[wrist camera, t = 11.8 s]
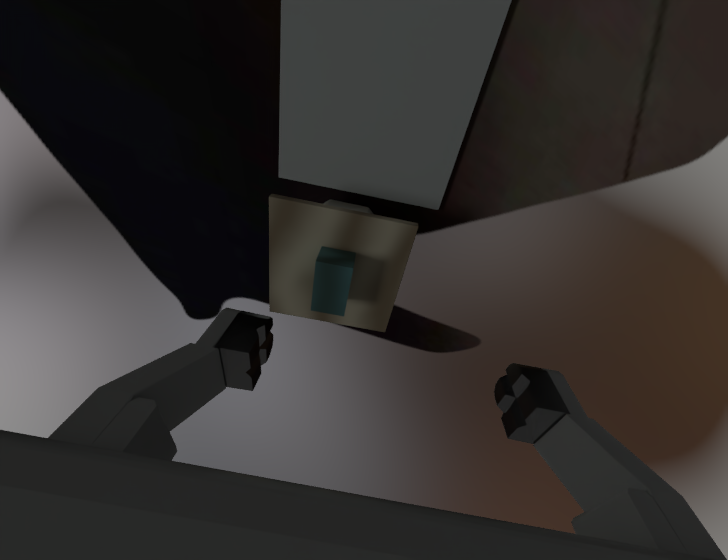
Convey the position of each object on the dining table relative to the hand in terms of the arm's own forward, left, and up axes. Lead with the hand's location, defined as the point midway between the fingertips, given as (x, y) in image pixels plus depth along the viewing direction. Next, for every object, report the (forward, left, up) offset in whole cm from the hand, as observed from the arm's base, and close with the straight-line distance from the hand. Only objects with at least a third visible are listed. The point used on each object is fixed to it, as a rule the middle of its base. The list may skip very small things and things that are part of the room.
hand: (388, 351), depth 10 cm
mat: (+2, -6, -25) cm, 26 cm away
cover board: (+3, +10, -19) cm, 22 cm away
